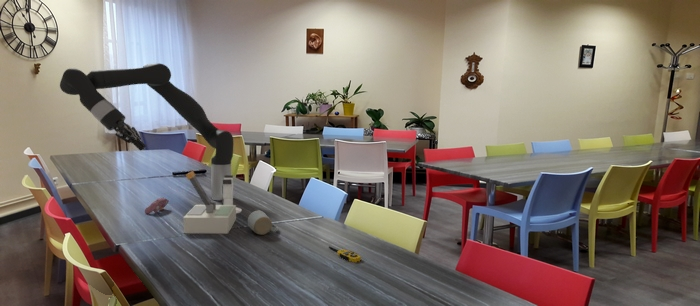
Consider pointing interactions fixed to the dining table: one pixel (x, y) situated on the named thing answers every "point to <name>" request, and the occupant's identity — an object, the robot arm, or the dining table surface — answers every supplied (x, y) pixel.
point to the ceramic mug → (260, 223)
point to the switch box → (210, 218)
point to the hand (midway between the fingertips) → (143, 148)
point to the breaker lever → (199, 188)
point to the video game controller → (157, 205)
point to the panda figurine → (228, 192)
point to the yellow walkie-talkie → (347, 255)
